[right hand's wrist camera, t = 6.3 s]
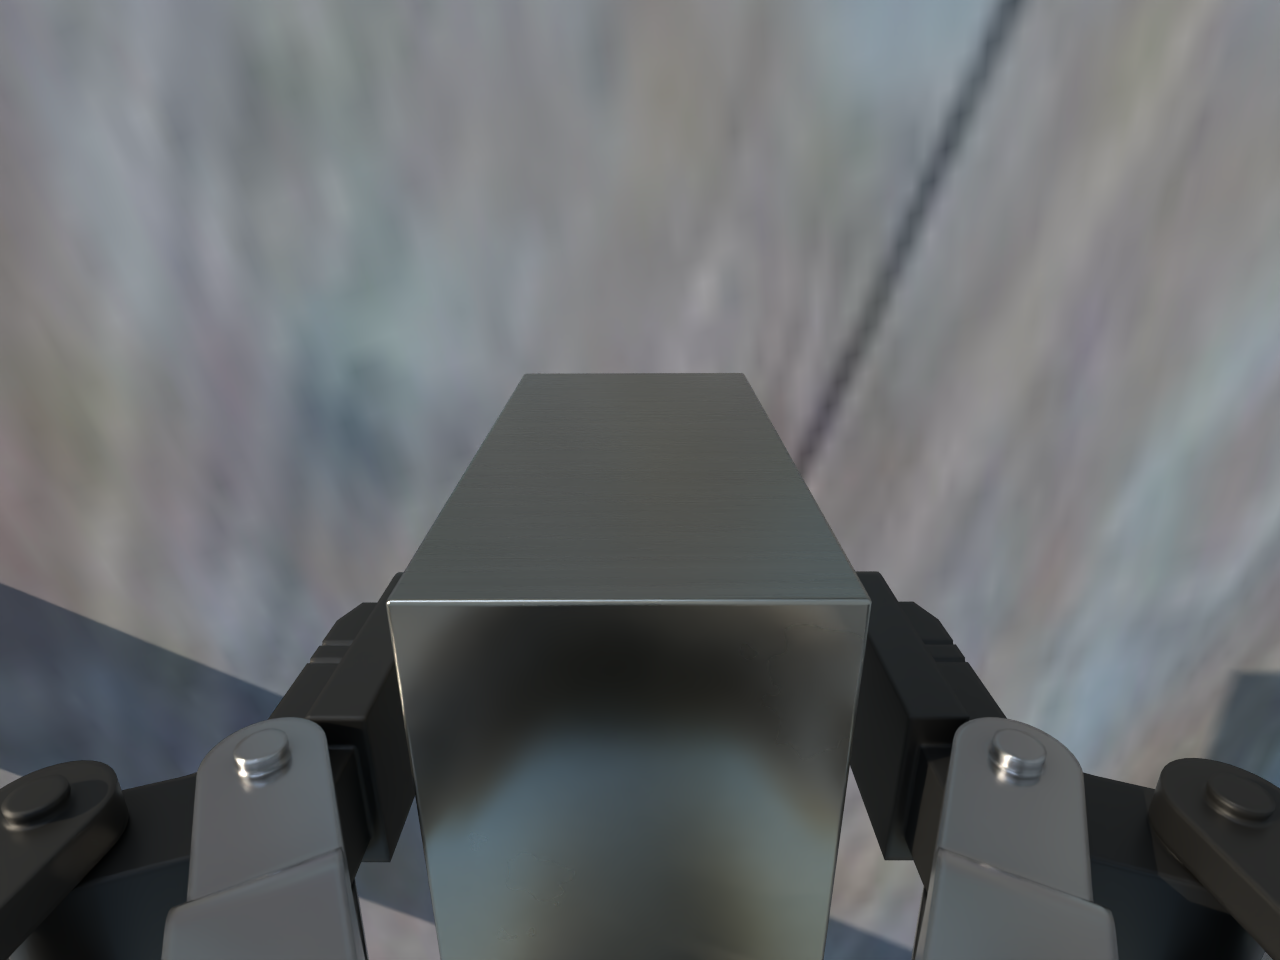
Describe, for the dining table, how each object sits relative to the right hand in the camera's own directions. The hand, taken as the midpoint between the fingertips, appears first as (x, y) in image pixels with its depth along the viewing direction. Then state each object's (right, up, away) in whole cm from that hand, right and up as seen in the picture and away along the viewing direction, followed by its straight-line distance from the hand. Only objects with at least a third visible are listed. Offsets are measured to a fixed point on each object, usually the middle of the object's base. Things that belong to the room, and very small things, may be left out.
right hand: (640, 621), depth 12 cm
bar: (0, -6, +8) cm, 10 cm away
